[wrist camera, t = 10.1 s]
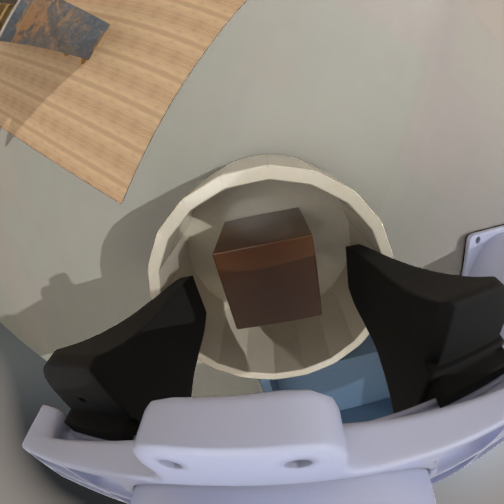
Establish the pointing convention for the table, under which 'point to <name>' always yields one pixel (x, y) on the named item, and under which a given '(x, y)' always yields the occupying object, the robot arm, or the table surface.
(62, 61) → the architectural model on board
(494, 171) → the table surface
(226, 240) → the walnut block
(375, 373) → the tub
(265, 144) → the table surface
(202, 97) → the table surface
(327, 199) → the cup
